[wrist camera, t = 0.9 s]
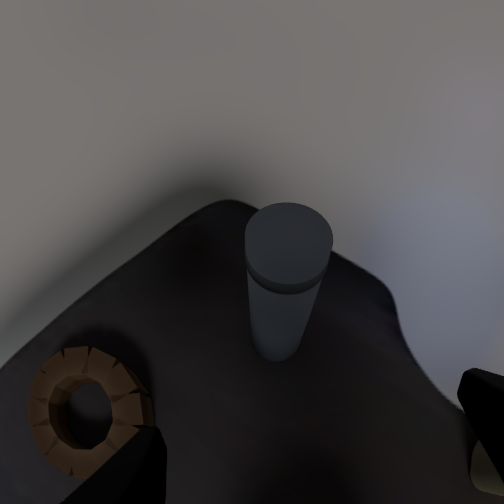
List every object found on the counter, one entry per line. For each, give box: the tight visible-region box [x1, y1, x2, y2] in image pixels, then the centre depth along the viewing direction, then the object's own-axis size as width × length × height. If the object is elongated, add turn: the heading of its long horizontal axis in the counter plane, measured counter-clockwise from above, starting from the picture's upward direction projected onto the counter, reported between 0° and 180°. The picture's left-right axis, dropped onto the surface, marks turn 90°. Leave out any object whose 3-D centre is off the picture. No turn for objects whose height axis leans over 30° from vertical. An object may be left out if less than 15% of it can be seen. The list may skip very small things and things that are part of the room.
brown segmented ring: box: [28, 346, 155, 479], centre depth 18 cm, size 10×10×2 cm
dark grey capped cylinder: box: [245, 203, 333, 362], centre depth 18 cm, size 4×4×12 cm
